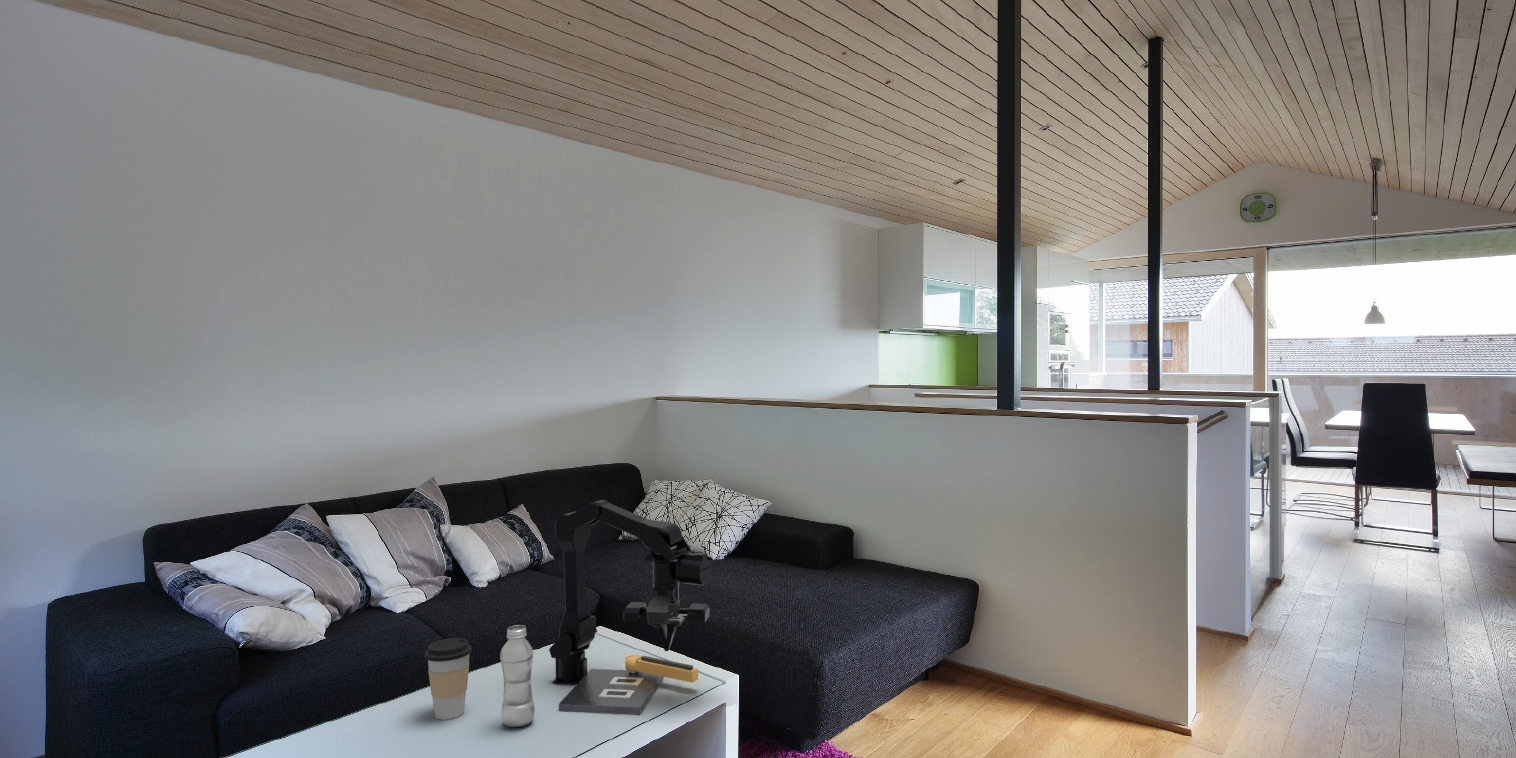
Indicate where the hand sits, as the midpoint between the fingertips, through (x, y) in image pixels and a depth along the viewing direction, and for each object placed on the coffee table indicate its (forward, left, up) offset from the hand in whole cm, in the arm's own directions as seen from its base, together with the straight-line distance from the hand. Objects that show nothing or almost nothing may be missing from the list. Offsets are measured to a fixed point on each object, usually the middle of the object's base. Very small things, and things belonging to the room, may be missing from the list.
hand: (667, 650), depth 172 cm
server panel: (-13, 0, -10) cm, 16 cm away
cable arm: (-3, +7, -8) cm, 11 cm away
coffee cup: (-45, -14, -11) cm, 48 cm away
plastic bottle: (-28, -17, -11) cm, 34 cm away
